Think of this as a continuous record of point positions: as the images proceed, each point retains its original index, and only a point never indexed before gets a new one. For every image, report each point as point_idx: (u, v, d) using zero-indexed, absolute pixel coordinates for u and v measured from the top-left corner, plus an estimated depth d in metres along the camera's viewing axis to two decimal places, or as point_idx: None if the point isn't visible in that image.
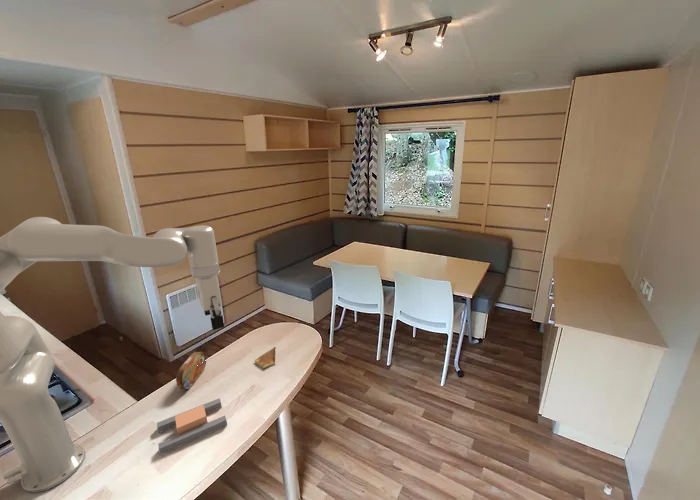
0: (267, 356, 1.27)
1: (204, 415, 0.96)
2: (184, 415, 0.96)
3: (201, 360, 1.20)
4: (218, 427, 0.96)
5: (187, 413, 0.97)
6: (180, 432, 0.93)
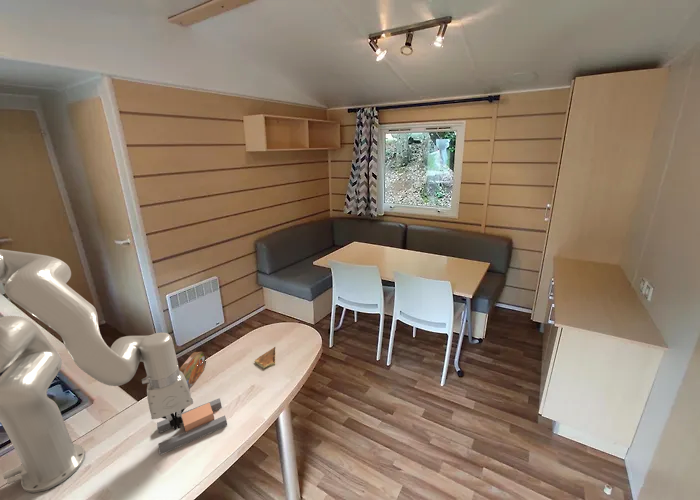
0: (267, 356, 1.27)
1: (210, 412, 0.97)
2: (191, 413, 0.97)
3: (201, 360, 1.20)
4: (218, 427, 0.96)
5: (193, 411, 0.97)
6: (187, 430, 0.93)
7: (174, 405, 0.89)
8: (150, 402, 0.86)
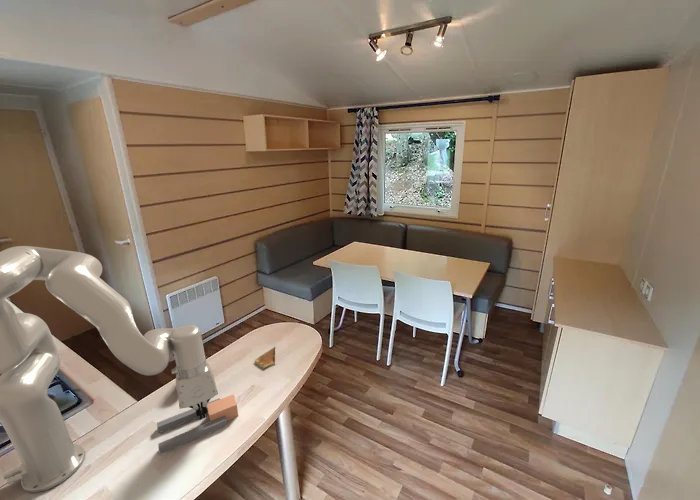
0: (267, 356, 1.27)
1: (234, 403, 1.00)
2: (215, 403, 1.00)
3: None
4: (218, 427, 0.96)
5: (218, 401, 1.01)
6: (212, 419, 0.97)
7: (201, 395, 0.93)
8: (179, 392, 0.89)
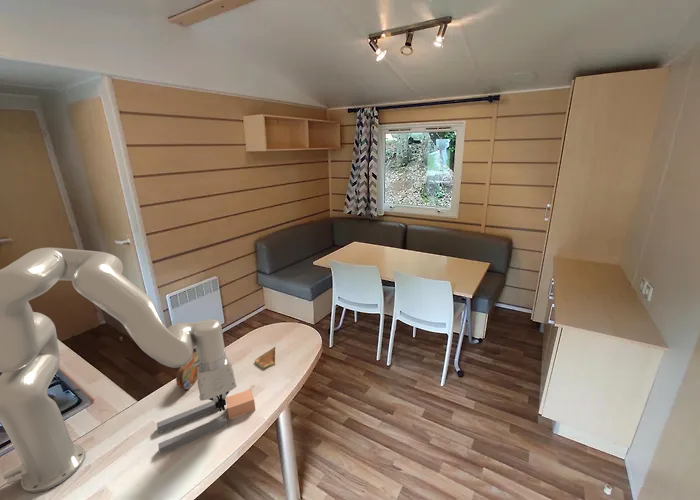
0: (267, 356, 1.27)
1: (252, 398, 1.02)
2: (234, 397, 1.03)
3: None
4: (218, 427, 0.96)
5: (236, 395, 1.03)
6: (230, 412, 0.99)
7: (221, 387, 0.96)
8: (201, 384, 0.92)
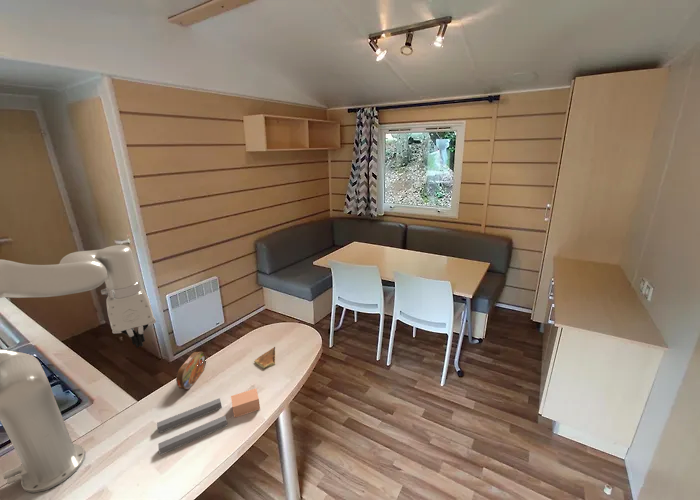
0: (267, 356, 1.27)
1: (256, 397, 1.02)
2: (239, 396, 1.03)
3: (201, 360, 1.20)
4: (218, 427, 0.96)
5: (242, 394, 1.04)
6: (235, 411, 1.00)
7: (135, 319, 0.90)
8: (110, 313, 0.87)
